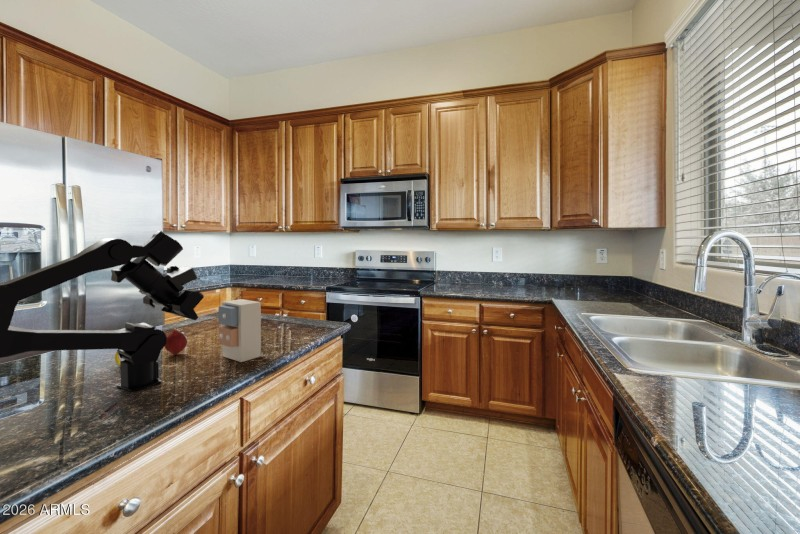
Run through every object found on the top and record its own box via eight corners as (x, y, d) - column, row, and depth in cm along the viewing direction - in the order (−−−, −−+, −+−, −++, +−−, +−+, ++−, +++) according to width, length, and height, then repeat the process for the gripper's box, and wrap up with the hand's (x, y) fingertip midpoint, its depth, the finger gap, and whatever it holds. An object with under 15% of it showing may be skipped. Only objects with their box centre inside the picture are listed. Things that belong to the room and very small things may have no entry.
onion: (191, 352, 111) (191, 326, 110) (178, 358, 105) (177, 331, 104) (173, 351, 111) (173, 325, 111) (159, 357, 105) (159, 330, 105)
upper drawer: (230, 326, 101) (230, 308, 101) (217, 323, 104) (217, 306, 104) (239, 324, 104) (239, 307, 103) (226, 321, 107) (226, 305, 106)
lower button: (230, 347, 102) (230, 329, 101) (217, 343, 105) (217, 326, 104) (239, 345, 104) (239, 328, 104) (226, 341, 107) (226, 325, 107)
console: (241, 362, 103) (241, 305, 102) (222, 356, 108) (221, 301, 107) (260, 356, 109) (260, 302, 107) (241, 351, 113) (241, 299, 112)
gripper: (195, 257, 85) (237, 298, 96) (155, 254, 95) (197, 291, 105) (159, 294, 79) (208, 333, 89) (120, 286, 89) (169, 323, 99)
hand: (196, 318), depth 96 cm, fingers closed
